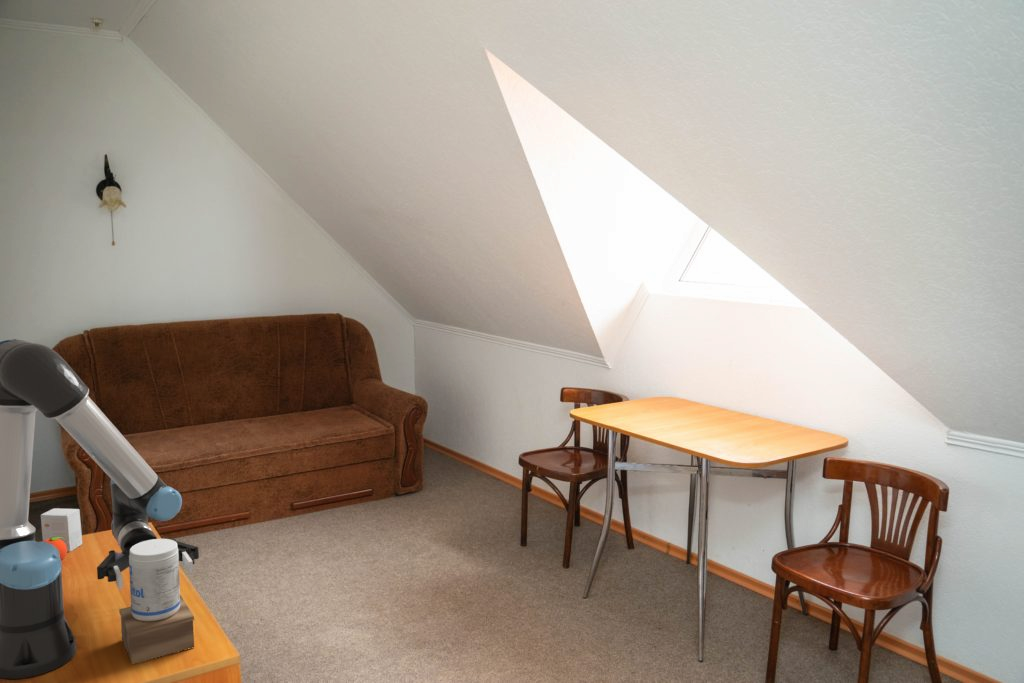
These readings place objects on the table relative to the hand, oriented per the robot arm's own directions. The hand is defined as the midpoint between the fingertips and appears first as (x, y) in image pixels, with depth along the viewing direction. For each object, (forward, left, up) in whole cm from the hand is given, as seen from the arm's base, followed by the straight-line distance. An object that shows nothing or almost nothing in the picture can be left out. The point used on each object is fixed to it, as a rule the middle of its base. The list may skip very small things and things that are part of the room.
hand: (156, 575), depth 165 cm
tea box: (+1, +2, -16) cm, 17 cm away
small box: (+28, +70, -17) cm, 77 cm away
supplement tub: (+1, +2, -9) cm, 10 cm away
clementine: (+20, +62, -16) cm, 67 cm away
